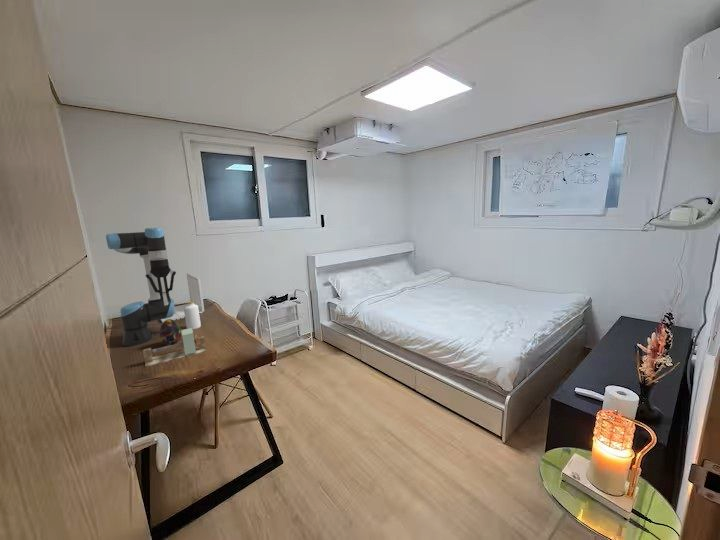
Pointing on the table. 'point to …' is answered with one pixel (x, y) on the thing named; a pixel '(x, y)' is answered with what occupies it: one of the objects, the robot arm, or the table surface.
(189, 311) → the potion bottle
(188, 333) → the block
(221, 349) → the table surface
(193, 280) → the laptop
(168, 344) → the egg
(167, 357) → the rail
